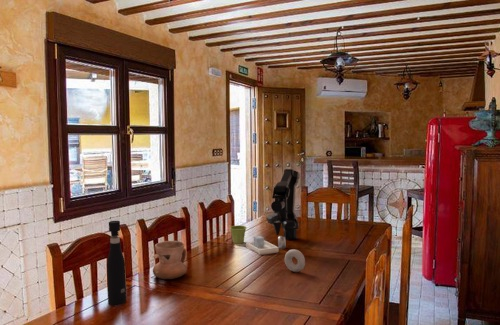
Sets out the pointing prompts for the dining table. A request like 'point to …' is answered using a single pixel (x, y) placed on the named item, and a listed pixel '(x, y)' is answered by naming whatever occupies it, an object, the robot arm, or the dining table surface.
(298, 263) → the donut
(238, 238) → the plant pot
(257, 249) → the parts tray
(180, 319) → the dining table surface
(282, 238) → the metal cylinder
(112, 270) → the black water bottle
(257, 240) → the painted block
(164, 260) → the ceramic jug
